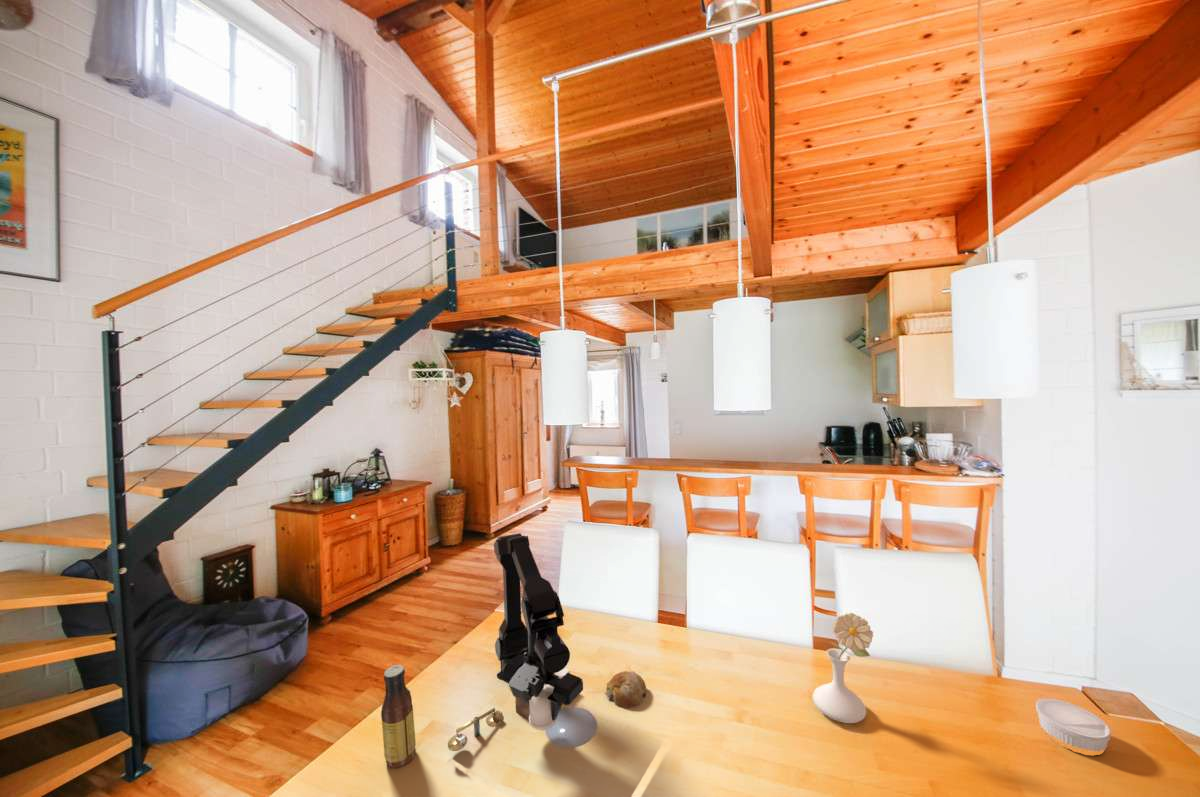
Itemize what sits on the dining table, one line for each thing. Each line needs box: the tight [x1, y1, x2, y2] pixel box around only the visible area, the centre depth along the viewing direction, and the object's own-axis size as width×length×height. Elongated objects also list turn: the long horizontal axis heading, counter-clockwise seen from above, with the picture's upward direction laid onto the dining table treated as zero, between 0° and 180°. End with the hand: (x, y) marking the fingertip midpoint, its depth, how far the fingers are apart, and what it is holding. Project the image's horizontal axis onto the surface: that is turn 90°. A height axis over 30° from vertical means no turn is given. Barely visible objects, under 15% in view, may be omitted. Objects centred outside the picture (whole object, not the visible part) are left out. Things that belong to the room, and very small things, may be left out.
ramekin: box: [1035, 698, 1112, 751], centre depth 95 cm, size 11×11×5 cm
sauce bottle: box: [380, 664, 417, 768], centre depth 95 cm, size 6×6×20 cm
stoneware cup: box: [528, 684, 558, 731], centre depth 98 cm, size 6×6×7 cm
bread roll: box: [605, 670, 647, 709], centre depth 111 cm, size 10×10×8 cm
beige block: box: [555, 667, 571, 677], centre depth 113 cm, size 4×4×6 cm
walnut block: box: [514, 697, 530, 720], centre depth 107 cm, size 4×4×6 cm
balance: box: [447, 707, 504, 752], centre depth 99 cm, size 15×4×6 cm, turn 148°
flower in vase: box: [811, 612, 874, 724], centre depth 104 cm, size 13×11×25 cm
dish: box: [545, 706, 598, 749], centre depth 101 cm, size 12×12×1 cm
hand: (543, 714), depth 98 cm, fingers closed on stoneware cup, 6 cm apart
